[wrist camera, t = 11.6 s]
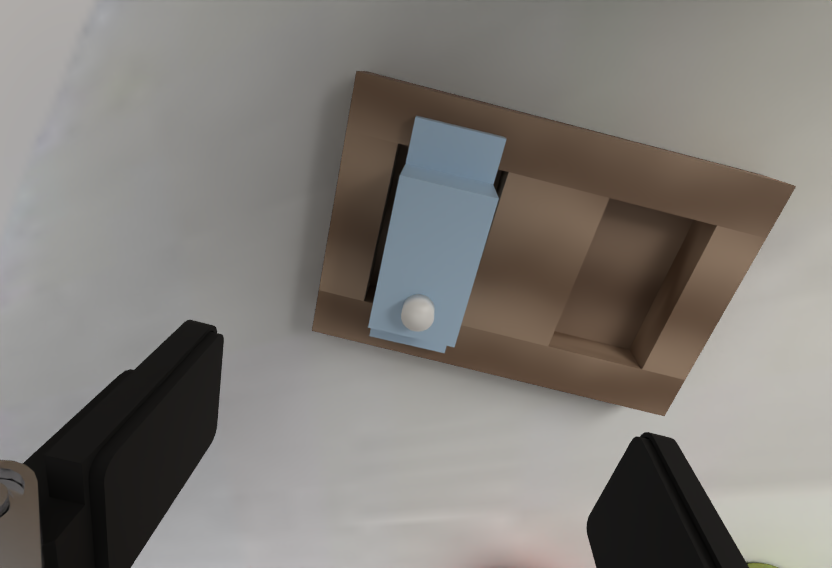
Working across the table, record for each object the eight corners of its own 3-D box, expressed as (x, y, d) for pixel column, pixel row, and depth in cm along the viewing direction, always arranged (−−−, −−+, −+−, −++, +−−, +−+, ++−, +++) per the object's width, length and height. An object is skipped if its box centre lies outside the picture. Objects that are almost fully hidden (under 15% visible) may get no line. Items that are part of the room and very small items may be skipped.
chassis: (365, 71, 23) (355, 71, 21) (763, 175, 24) (797, 186, 21) (323, 309, 28) (311, 331, 26) (647, 388, 29) (664, 417, 27)
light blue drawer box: (419, 112, 23) (408, 124, 17) (500, 131, 23) (516, 150, 17) (376, 311, 28) (357, 373, 22) (445, 326, 28) (443, 393, 22)
